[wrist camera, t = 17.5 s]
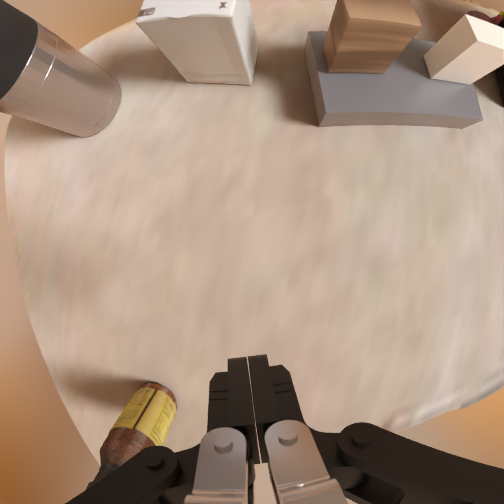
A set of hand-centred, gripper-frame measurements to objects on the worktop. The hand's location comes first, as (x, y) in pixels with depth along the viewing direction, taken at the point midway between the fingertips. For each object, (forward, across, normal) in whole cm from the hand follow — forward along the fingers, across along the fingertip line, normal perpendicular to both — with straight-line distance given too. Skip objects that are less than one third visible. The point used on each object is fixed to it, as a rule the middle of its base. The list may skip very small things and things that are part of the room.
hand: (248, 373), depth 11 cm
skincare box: (+27, 0, -20) cm, 34 cm away
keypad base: (+23, -20, -17) cm, 35 cm away
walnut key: (+19, -14, -18) cm, 30 cm away
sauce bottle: (+21, +13, +21) cm, 33 cm away
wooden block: (+17, -26, -18) cm, 36 cm away
